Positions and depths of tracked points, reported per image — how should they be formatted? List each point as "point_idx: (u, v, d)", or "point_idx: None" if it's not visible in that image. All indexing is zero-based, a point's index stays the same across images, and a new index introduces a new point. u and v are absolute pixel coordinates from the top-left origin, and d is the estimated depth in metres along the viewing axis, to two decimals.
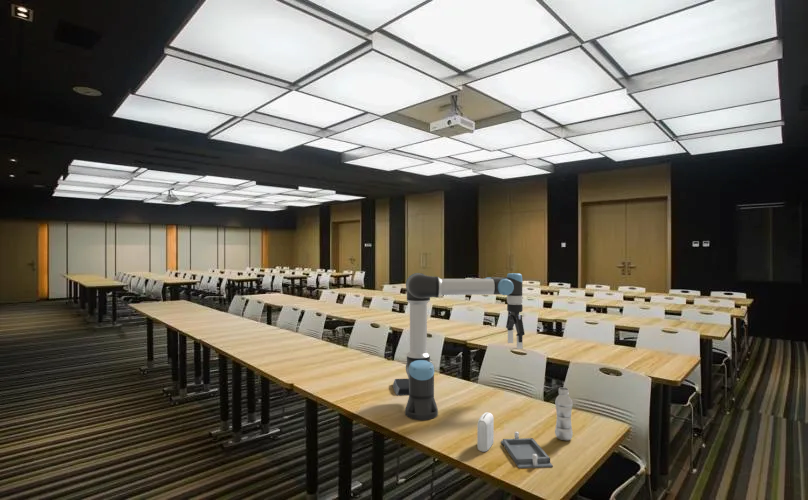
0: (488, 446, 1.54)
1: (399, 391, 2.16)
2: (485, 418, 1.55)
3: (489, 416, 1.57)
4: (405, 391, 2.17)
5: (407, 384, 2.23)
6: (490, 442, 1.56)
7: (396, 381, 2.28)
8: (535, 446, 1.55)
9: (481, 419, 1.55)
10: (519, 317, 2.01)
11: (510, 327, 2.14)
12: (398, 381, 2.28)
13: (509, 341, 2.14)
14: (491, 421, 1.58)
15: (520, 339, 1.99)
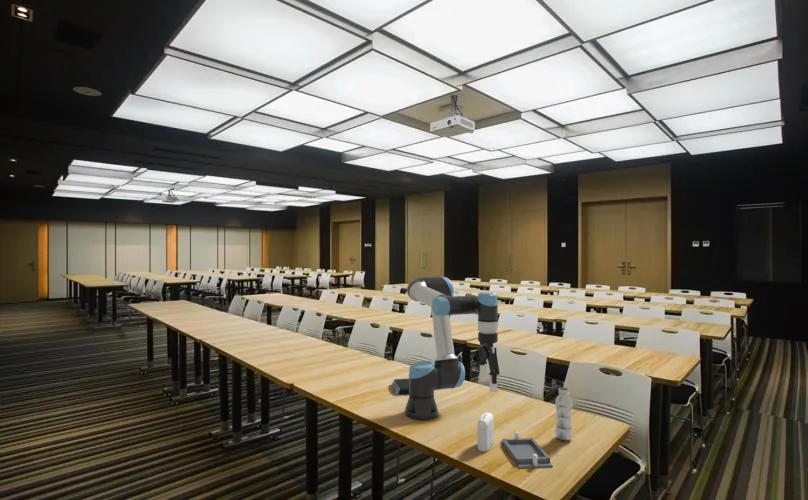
0: (488, 446, 1.54)
1: (399, 391, 2.16)
2: (485, 418, 1.55)
3: (489, 416, 1.57)
4: (406, 391, 2.17)
5: (407, 384, 2.23)
6: (490, 442, 1.56)
7: (395, 381, 2.28)
8: (535, 446, 1.55)
9: (481, 419, 1.55)
10: (493, 350, 1.54)
11: (483, 361, 1.67)
12: (397, 381, 2.28)
13: (481, 379, 1.67)
14: (491, 421, 1.58)
15: (494, 380, 1.53)
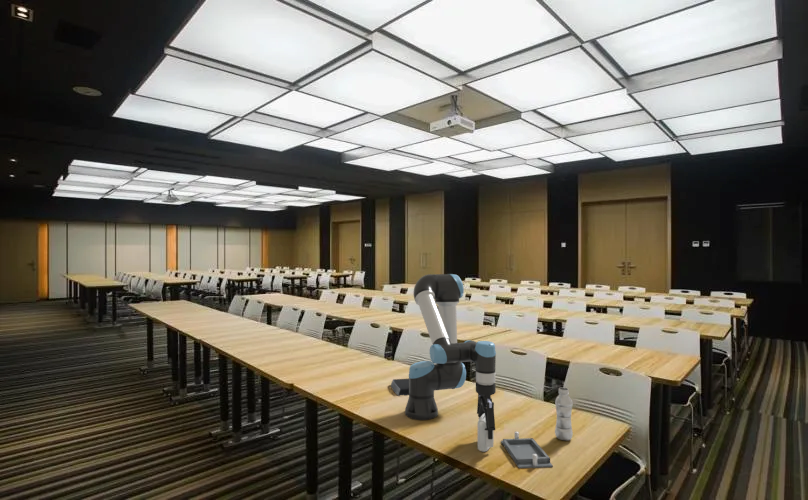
0: None
1: (400, 391, 2.16)
2: None
3: None
4: (406, 391, 2.16)
5: (407, 384, 2.23)
6: None
7: (395, 381, 2.28)
8: (535, 446, 1.55)
9: (481, 419, 1.55)
10: (490, 406, 1.52)
11: (481, 413, 1.63)
12: (397, 381, 2.28)
13: None
14: None
15: (490, 435, 1.51)
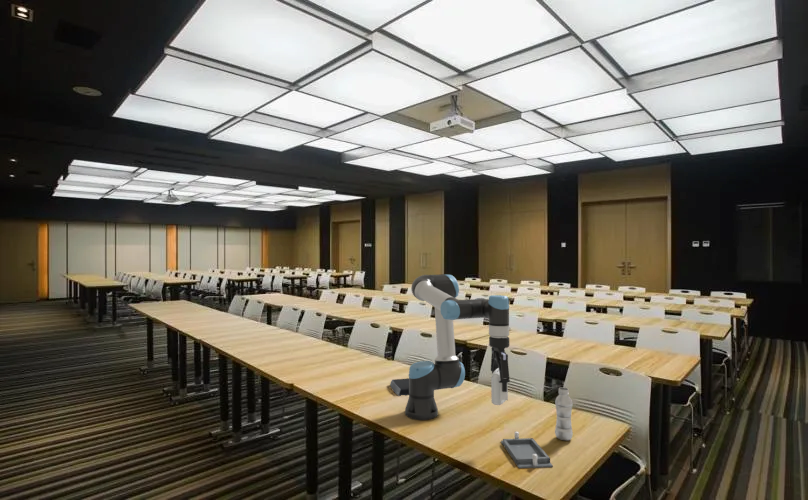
0: (502, 400, 1.52)
1: (400, 391, 2.16)
2: None
3: None
4: (407, 391, 2.16)
5: (406, 384, 2.23)
6: None
7: (394, 382, 2.27)
8: (535, 446, 1.55)
9: (495, 372, 1.53)
10: (504, 357, 1.49)
11: (495, 369, 1.61)
12: (396, 382, 2.28)
13: None
14: None
15: (504, 387, 1.49)
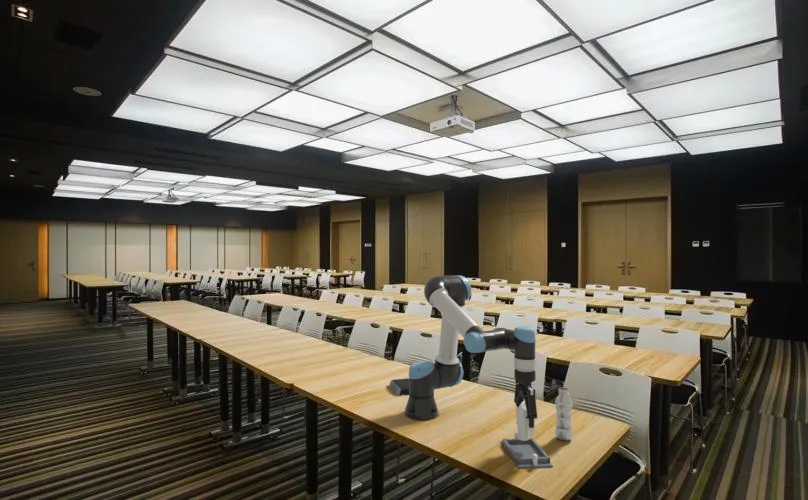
0: None
1: (401, 391, 2.16)
2: (525, 406, 1.49)
3: None
4: (407, 391, 2.16)
5: (406, 384, 2.23)
6: None
7: (394, 382, 2.27)
8: (535, 446, 1.55)
9: (521, 407, 1.49)
10: (531, 393, 1.46)
11: (520, 402, 1.57)
12: (396, 382, 2.27)
13: None
14: None
15: (531, 423, 1.46)
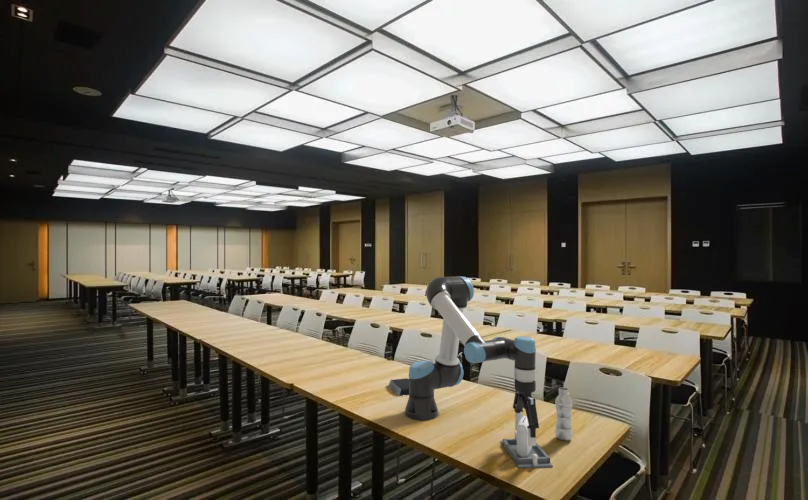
0: (528, 451, 1.49)
1: (401, 392, 2.15)
2: (525, 422, 1.50)
3: None
4: (407, 392, 2.16)
5: (406, 384, 2.23)
6: (530, 447, 1.51)
7: (394, 382, 2.27)
8: (535, 446, 1.55)
9: (521, 423, 1.49)
10: (531, 402, 1.45)
11: (518, 409, 1.58)
12: (396, 382, 2.27)
13: None
14: None
15: (533, 433, 1.44)
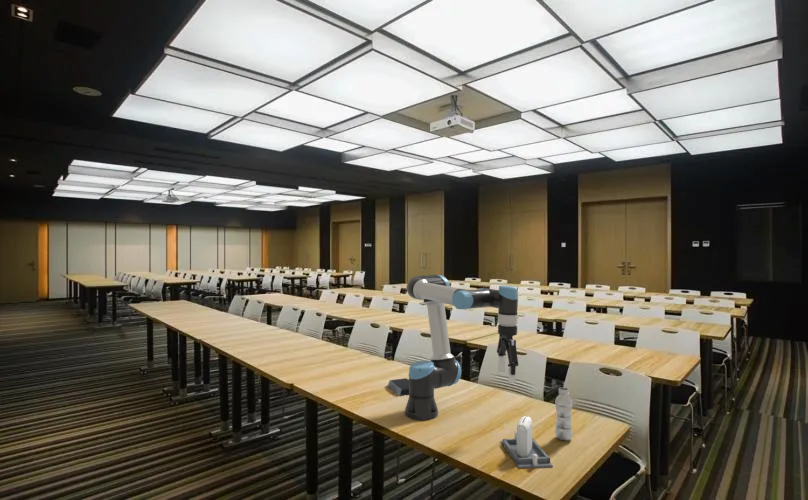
0: (528, 451, 1.49)
1: (401, 392, 2.15)
2: (525, 422, 1.50)
3: (528, 420, 1.52)
4: (407, 392, 2.16)
5: (406, 384, 2.23)
6: (529, 447, 1.51)
7: (393, 382, 2.27)
8: (535, 446, 1.55)
9: (520, 423, 1.49)
10: (512, 343, 1.59)
11: (502, 352, 1.72)
12: (395, 382, 2.27)
13: (500, 370, 1.72)
14: (530, 425, 1.52)
15: (513, 371, 1.57)
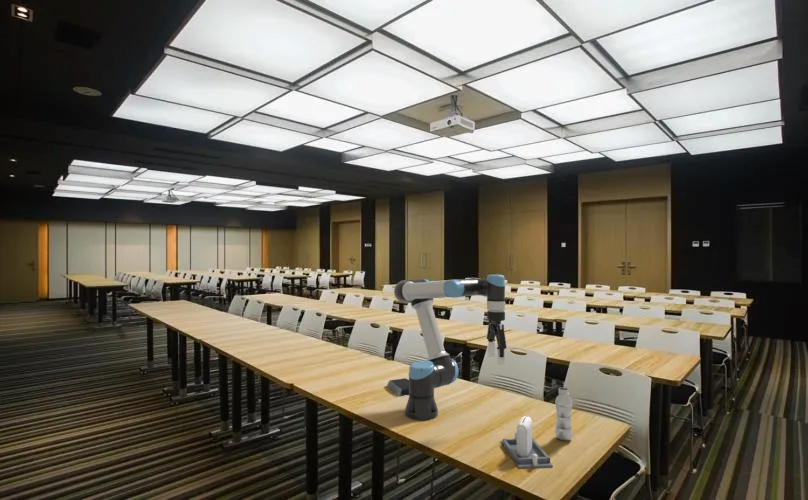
0: (528, 451, 1.49)
1: (402, 392, 2.15)
2: (525, 422, 1.50)
3: (528, 420, 1.52)
4: (408, 392, 2.16)
5: (406, 384, 2.23)
6: (529, 447, 1.51)
7: (393, 382, 2.26)
8: (535, 446, 1.55)
9: (520, 423, 1.49)
10: (500, 327, 1.68)
11: (491, 338, 1.81)
12: (395, 382, 2.27)
13: (490, 355, 1.81)
14: (530, 425, 1.52)
15: (501, 353, 1.67)
